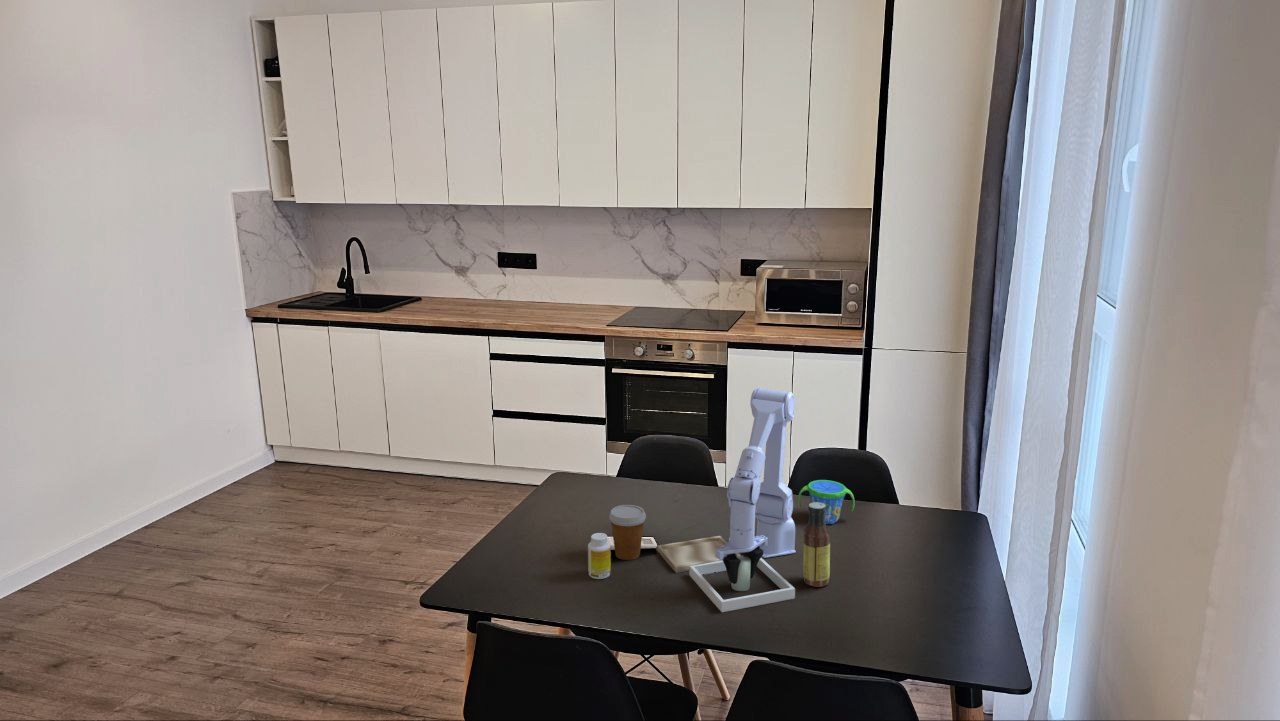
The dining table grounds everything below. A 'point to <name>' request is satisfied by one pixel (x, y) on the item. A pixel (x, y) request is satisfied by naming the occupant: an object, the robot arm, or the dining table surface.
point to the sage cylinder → (743, 574)
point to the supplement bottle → (599, 556)
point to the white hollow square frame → (746, 601)
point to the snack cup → (828, 497)
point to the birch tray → (691, 552)
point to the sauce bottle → (816, 547)
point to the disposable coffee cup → (627, 530)
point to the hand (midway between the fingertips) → (740, 579)
